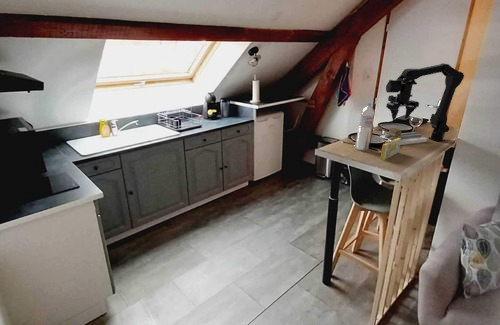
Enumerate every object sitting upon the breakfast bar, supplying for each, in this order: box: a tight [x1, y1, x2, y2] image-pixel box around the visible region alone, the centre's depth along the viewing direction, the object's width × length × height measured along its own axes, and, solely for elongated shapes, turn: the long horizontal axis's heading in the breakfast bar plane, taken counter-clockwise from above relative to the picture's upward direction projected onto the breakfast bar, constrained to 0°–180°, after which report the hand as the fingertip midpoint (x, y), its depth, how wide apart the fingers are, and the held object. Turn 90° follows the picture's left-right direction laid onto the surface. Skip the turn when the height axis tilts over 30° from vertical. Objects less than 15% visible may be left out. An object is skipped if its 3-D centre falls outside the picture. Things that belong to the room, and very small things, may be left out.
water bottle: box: [354, 103, 376, 152], centre depth 154 cm, size 7×7×25 cm
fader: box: [388, 127, 402, 137], centre depth 169 cm, size 4×5×5 cm
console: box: [379, 131, 428, 146], centre depth 173 cm, size 24×12×4 cm, turn 108°
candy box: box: [380, 138, 401, 161], centre depth 149 cm, size 16×2×8 cm, turn 129°
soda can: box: [369, 124, 374, 143], centre depth 166 cm, size 7×7×12 cm
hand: (399, 119), depth 170 cm, fingers open, 9 cm apart
